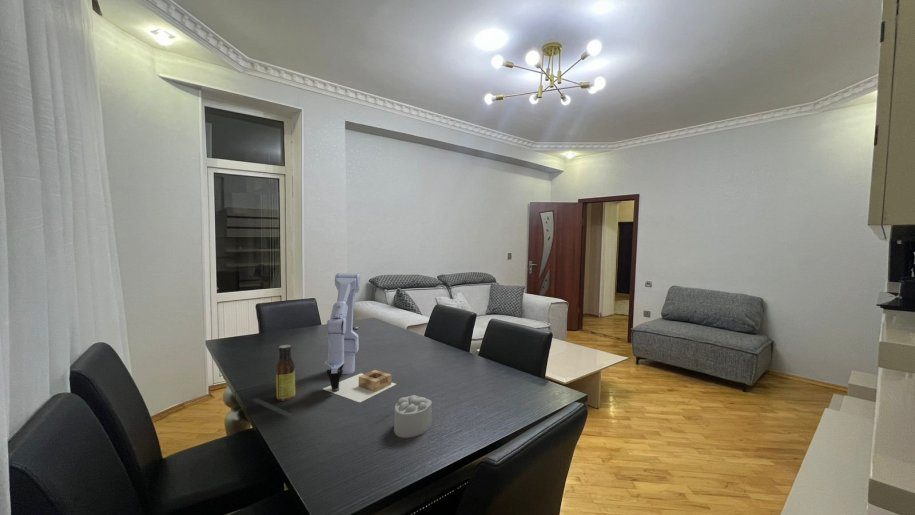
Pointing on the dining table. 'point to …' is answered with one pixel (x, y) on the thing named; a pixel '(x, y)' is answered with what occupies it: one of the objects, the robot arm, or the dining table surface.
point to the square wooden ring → (375, 380)
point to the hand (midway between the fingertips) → (335, 385)
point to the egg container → (412, 416)
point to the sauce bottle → (285, 374)
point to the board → (355, 389)
